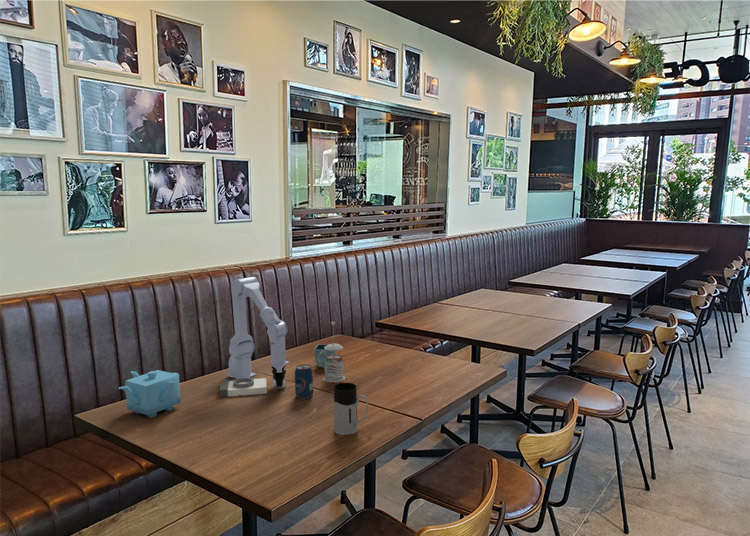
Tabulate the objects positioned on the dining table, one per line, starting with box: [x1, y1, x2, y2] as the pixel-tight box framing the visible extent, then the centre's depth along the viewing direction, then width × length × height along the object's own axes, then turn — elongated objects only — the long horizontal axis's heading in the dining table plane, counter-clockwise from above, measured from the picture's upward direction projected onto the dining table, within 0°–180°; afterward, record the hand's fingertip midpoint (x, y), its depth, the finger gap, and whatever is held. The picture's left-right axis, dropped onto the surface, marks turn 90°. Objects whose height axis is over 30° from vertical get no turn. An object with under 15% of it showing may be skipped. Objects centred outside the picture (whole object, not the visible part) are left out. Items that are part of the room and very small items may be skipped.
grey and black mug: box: [332, 382, 369, 436], centre depth 180 cm, size 9×14×15 cm, turn 51°
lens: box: [272, 374, 286, 390], centre depth 222 cm, size 5×5×5 cm
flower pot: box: [313, 343, 336, 368], centre depth 249 cm, size 9×9×9 cm
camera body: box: [219, 377, 268, 398], centre depth 219 cm, size 18×11×4 cm, turn 102°
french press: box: [318, 321, 346, 383], centre depth 231 cm, size 10×12×25 cm
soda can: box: [294, 363, 314, 400], centre depth 212 cm, size 7×7×12 cm
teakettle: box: [117, 369, 182, 418], centre depth 199 cm, size 19×19×15 cm
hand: (279, 384), depth 222 cm, fingers closed on lens, 5 cm apart
